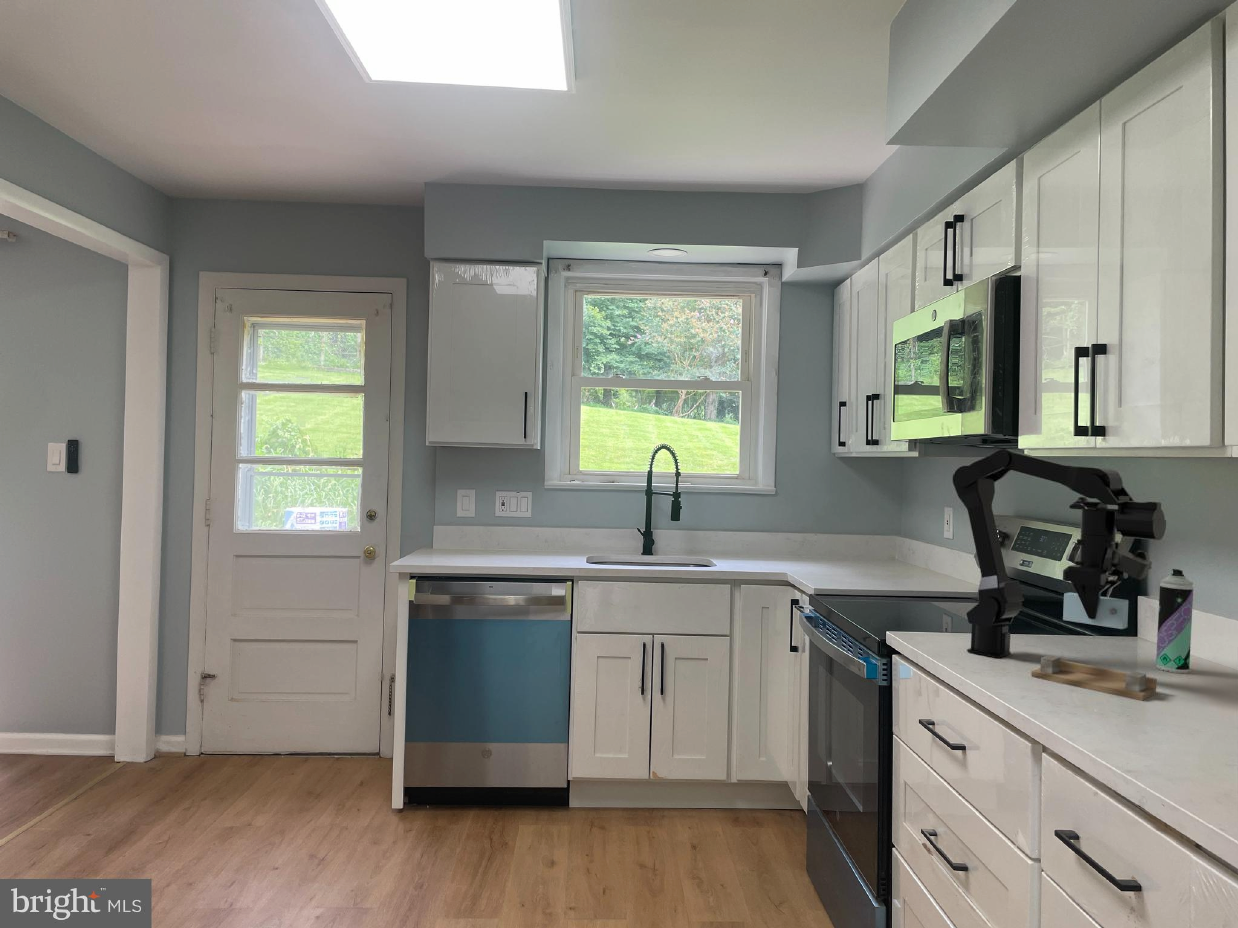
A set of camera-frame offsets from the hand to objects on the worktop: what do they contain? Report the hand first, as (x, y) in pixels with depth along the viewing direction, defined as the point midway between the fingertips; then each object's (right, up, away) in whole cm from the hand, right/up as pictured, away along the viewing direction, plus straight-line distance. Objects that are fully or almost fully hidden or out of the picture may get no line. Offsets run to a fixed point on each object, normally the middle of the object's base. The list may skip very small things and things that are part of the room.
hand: (1094, 617), depth 153 cm
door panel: (0, -1, 0) cm, 1 cm away
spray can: (+20, -12, +9) cm, 25 cm away
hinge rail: (-4, -11, -5) cm, 13 cm away
